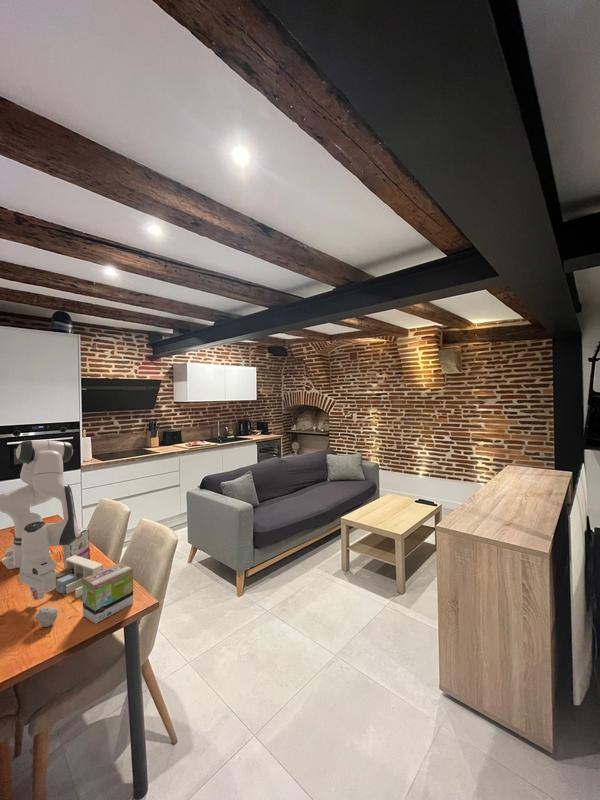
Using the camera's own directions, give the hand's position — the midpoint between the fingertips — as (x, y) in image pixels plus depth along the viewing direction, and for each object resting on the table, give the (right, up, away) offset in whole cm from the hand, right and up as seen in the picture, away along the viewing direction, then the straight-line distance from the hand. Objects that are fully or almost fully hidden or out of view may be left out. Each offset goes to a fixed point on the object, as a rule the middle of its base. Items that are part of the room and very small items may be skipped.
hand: (37, 596), depth 140 cm
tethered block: (+3, -2, +6) cm, 7 cm away
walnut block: (0, -3, +15) cm, 15 cm away
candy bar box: (-5, -3, +32) cm, 32 cm away
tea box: (+32, -3, -4) cm, 32 cm away
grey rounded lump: (+14, -3, -13) cm, 19 cm away
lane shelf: (+7, -2, +14) cm, 16 cm away
